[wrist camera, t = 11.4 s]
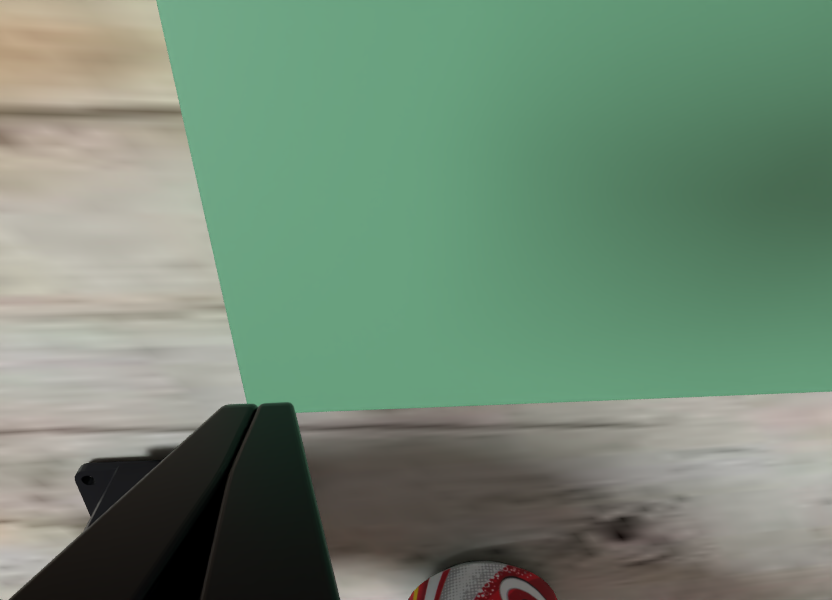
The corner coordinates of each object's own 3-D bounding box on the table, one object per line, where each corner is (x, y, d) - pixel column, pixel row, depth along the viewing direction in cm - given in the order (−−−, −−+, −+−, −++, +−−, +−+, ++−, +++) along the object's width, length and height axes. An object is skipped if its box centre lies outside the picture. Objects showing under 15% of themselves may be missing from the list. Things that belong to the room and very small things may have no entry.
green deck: (1058, 303, 21) (1183, 377, 18) (274, 335, 22) (249, 414, 18) (1325, -186, 15) (1605, -216, 11) (188, -130, 15) (123, -144, 12)
